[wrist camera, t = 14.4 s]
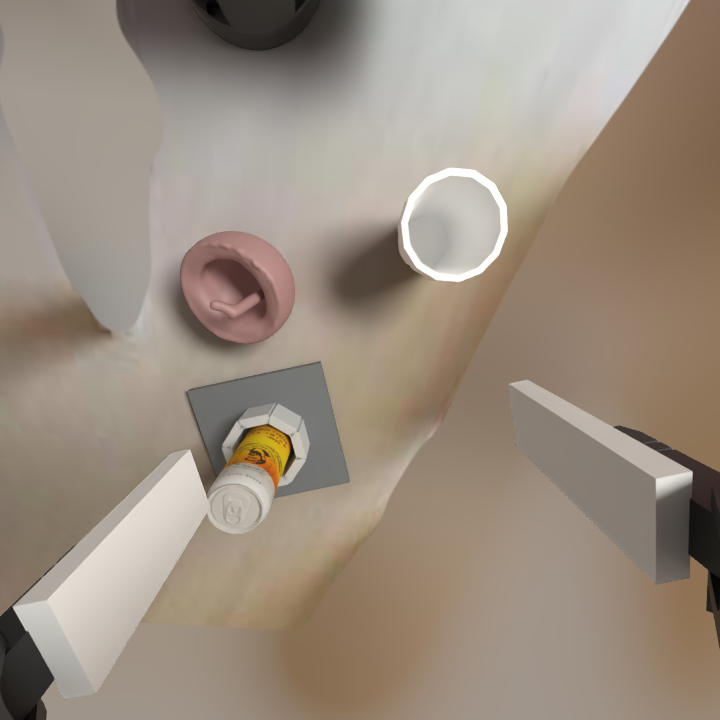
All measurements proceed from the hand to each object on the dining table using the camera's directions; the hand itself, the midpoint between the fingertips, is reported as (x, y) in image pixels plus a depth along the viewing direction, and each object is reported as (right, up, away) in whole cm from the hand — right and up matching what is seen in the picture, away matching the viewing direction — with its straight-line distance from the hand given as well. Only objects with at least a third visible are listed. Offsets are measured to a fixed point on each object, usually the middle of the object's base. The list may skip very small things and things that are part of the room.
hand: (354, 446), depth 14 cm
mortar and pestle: (-13, +13, +29) cm, 35 cm away
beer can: (-12, -7, +33) cm, 36 cm away
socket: (-12, -7, +34) cm, 36 cm away
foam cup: (+8, +18, +29) cm, 35 cm away
